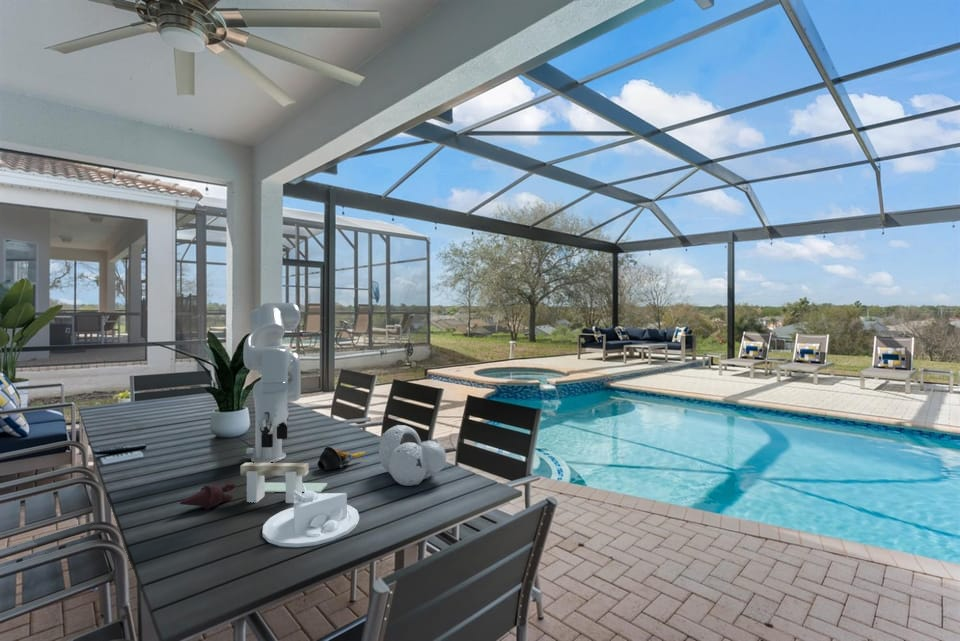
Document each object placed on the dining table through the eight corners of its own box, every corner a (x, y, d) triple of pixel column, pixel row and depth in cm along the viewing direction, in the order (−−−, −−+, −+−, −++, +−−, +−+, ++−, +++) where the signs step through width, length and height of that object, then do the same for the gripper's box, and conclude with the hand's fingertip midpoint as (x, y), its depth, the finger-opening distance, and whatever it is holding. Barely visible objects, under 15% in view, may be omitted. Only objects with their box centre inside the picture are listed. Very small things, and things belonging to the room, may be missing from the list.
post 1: (246, 502, 140) (246, 471, 139) (255, 495, 145) (255, 466, 145) (256, 502, 139) (256, 472, 139) (264, 495, 145) (264, 466, 145)
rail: (240, 475, 141) (240, 465, 141) (245, 471, 144) (245, 462, 144) (304, 476, 140) (304, 466, 140) (308, 472, 143) (308, 463, 143)
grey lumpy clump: (399, 476, 142) (411, 410, 153) (360, 484, 159) (374, 423, 170) (450, 491, 153) (458, 428, 164) (408, 497, 169) (419, 439, 181)
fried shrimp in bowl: (308, 457, 168) (344, 432, 183) (323, 483, 169) (358, 455, 184) (321, 453, 163) (357, 427, 177) (336, 479, 164) (371, 451, 178)
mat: (246, 492, 148) (246, 490, 148) (257, 484, 155) (257, 482, 155) (319, 493, 147) (319, 491, 147) (327, 484, 154) (327, 483, 154)
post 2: (285, 503, 139) (285, 472, 139) (293, 496, 145) (292, 466, 144) (295, 503, 139) (295, 472, 139) (302, 496, 145) (302, 466, 144)
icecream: (187, 498, 127) (241, 486, 139) (177, 485, 132) (230, 475, 144) (182, 521, 128) (237, 507, 140) (172, 507, 132) (226, 495, 144)
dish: (260, 556, 109) (260, 510, 109) (264, 514, 132) (264, 475, 132) (365, 537, 119) (365, 494, 119) (351, 500, 142) (351, 464, 142)
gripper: (275, 383, 150) (275, 435, 150) (247, 392, 133) (248, 450, 133) (298, 383, 150) (298, 435, 150) (273, 391, 133) (273, 450, 133)
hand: (274, 442), depth 141 cm, fingers open, 9 cm apart
